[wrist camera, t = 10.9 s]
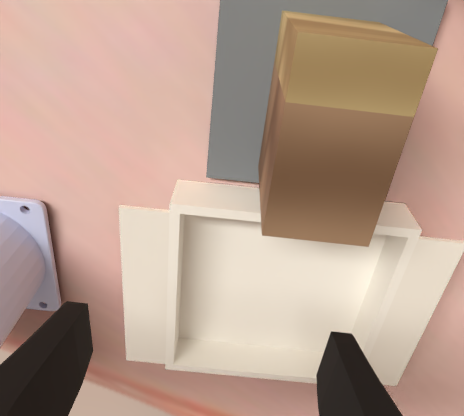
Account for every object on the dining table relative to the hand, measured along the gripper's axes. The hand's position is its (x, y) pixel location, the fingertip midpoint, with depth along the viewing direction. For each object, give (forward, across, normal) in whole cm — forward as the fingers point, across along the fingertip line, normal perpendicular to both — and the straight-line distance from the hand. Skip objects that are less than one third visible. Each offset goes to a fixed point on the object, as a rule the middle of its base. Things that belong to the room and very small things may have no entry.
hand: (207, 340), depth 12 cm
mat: (+10, -3, -5) cm, 12 cm away
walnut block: (+10, -3, -5) cm, 12 cm away
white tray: (+10, -3, +6) cm, 13 cm away
